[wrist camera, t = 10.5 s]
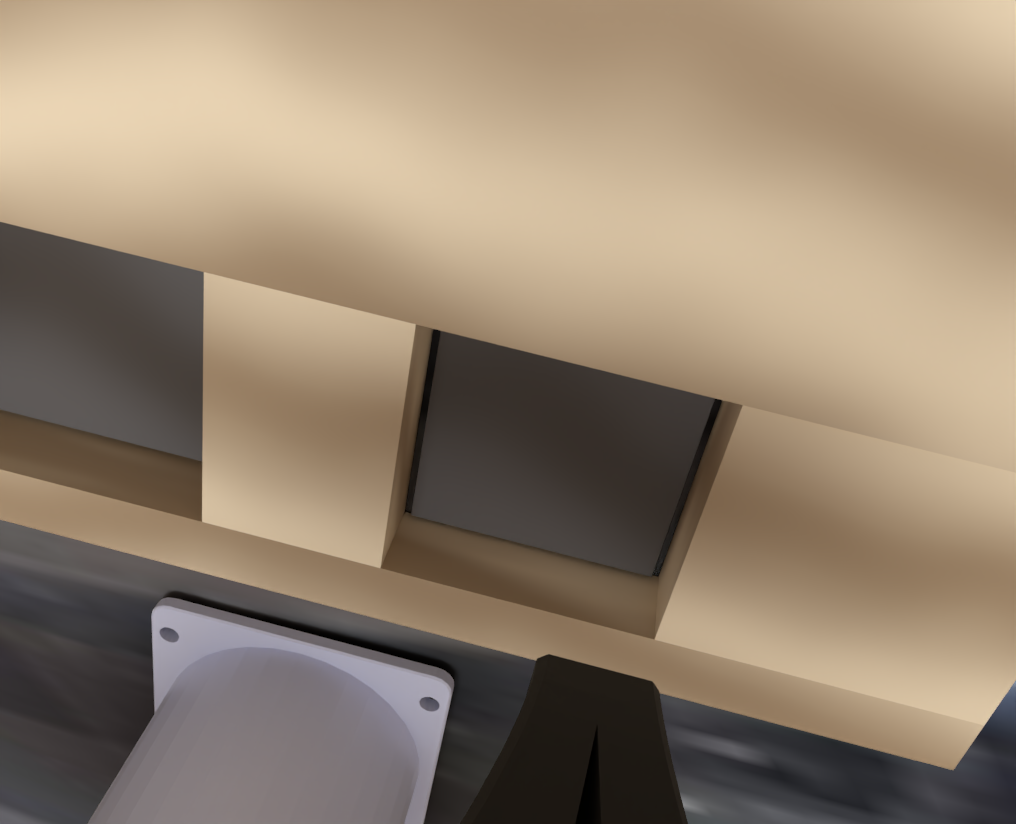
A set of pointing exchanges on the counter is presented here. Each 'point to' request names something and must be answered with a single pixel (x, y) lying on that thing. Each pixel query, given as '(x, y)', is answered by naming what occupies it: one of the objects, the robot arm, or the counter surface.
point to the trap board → (540, 327)
